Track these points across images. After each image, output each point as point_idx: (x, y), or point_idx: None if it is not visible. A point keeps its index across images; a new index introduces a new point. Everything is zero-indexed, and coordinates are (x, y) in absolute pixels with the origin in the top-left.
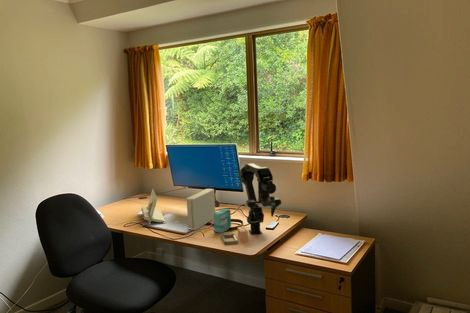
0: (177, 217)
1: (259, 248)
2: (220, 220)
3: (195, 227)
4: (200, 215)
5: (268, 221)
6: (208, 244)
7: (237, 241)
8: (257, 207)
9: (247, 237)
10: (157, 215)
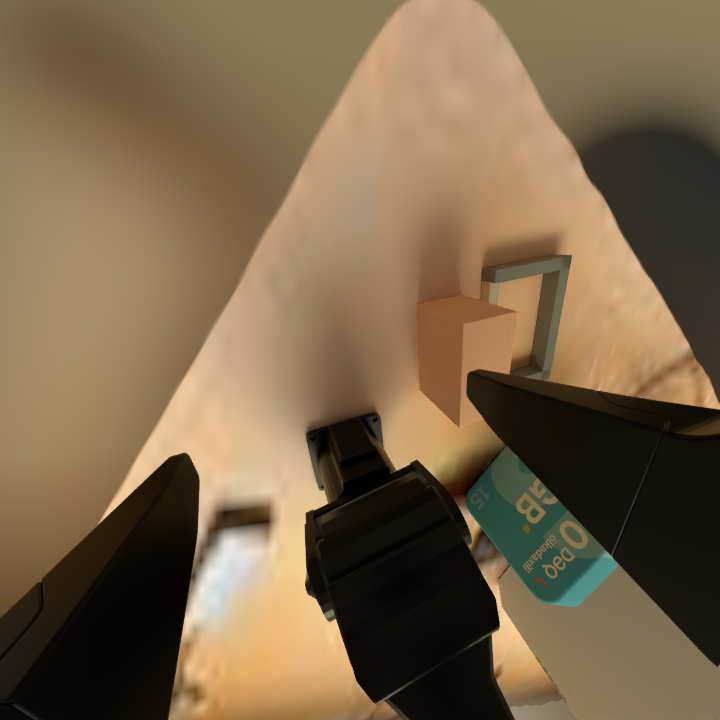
0: None
1: (358, 109)
2: None
3: None
4: None
5: (249, 614)
6: (618, 274)
7: (495, 269)
8: (426, 671)
9: (432, 309)
10: None
